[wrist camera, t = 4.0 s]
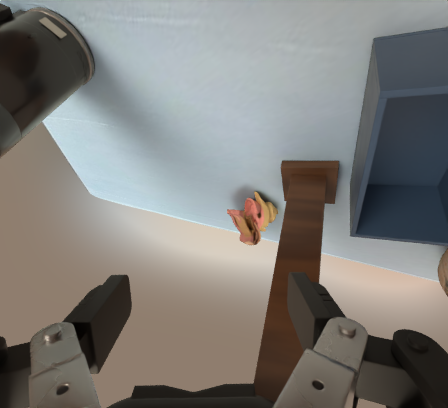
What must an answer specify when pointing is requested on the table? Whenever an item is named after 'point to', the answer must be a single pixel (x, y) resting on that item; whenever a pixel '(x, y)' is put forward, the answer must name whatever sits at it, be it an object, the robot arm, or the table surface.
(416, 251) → the table surface
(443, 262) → the cooking pot
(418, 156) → the blue open box
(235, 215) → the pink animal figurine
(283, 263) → the dark wooden post
